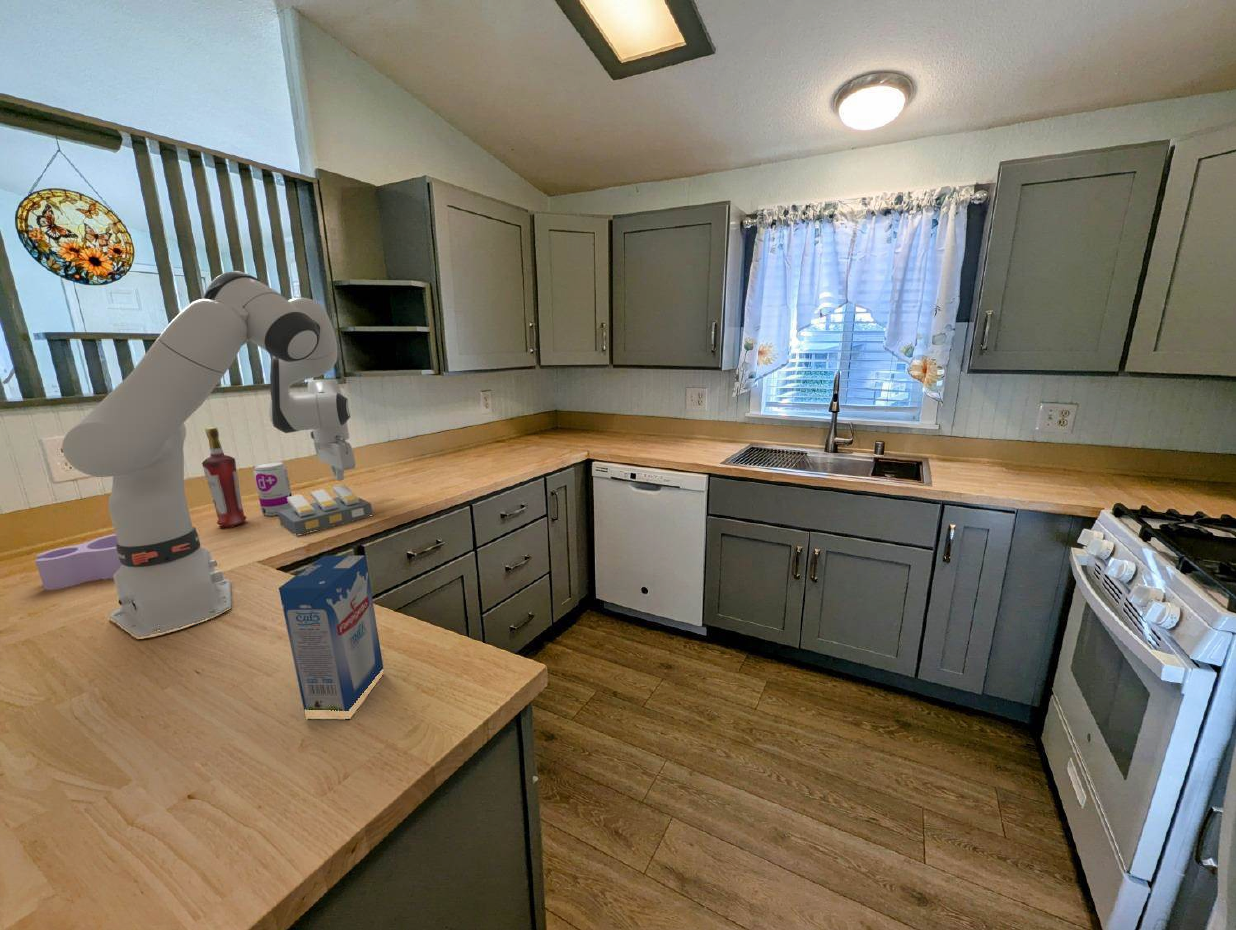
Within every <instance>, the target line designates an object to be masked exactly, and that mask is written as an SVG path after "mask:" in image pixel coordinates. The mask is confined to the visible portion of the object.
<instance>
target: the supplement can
mask: <svg viewBox="0 0 1236 930" xmlns="http://www.w3.org/2000/svg"><path fill="white" fill-rule="evenodd" d="M288 473H289V472H288V469H287V466H286V465H285V464H284V462H282V461H273V462H272V461H270V462H263V463H259V464H256V465H255V466H254V471H253V476H254V480H255V481H254V482H255V486H256V491H257V495H258V499H259V504H260V510H261V514H263V515H265V516H267V517H277V516H279V514H278V511H281V510H285V509H289V508H293V507H292V506H291V505H290V504H289V502H288V501H287V497H290V496H293V494H292V490H291V483H290V479H289V474H288ZM276 515H277V516H276Z"/></svg>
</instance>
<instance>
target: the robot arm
mask: <svg viewBox="0 0 1236 930" xmlns="http://www.w3.org/2000/svg"><path fill="white" fill-rule="evenodd" d="M249 342H251V343H253V344H254V345H256V346H258V347H259V348H261V349H262V350H264V351H266V352H267V353H268V354H269V355H271V356H272V357H271V360H270V371H269V374H270V375H269V381H270V382H269V383H270V386H269V387H270V399H271V401H270V404H269V407H268V408H269V409H268V412H269V413H268V415H269V419H270V422H271V424H272V426H273V427H274V428H276V429H277V430H278V431H281V432H283V433H285V434H289V433H295V432H296V433H297V432H300V431H309V430H311V431H310V432H309V433H310V435H309V436H310V437H311V440H313V445H314V449H315V452H316V456H317V458H318V460H319V462H320V463H323V464H326V465H329V468H330V470H331V472H332V474H333V479H334V480H336V481H338V482H340V481H344V480H345V476H344V473H345V471H347V470H354V469H355V468H356V460H355V455H354V451H353V448H352V445H351V443H350V442H347V440H350V433H349V428H348V426H349V425H348V422H347V421H349V419H350V418H351V413H350V409H349V401H348V398H347V397H345V395H343V394H342V391H341V387H340V385H339V382H338V380H336V379H335V378H330V377H329V378H327V377H326V378H325V377H324V378H322V377H321V376H323V375H325V374H327V373H328V372H329V371H331V370H332V369H333V368H334V366H335V365H336V363H337V360H338V344H337V343H338V342H337V337H336V334H335V331H334V327H333V324H332V322H331V318H330V317H329V314H328V312H327V311H326V309H325V308H324V307H323V305H321V303H319V302H317V301H316V300H314V299H310V298H308V297H294V298H293V297H292V298H291V299H286V297H285V296H284V295H282V294H281V293H279V292H278V291H276V290H275V289H273V288H272V287H271V286H268V285H267V284H265V283H263V282H261V280H259V279H258V278H256V277H255V276H253V275H251V274H248V273H245V272H243V271H239V270H230V271H227V272H224V273H221V274H220V275H218V276H216V277H215V278H214V279H213V280H212V281H211V283H210V284H208V287H207V289H206V291H205V292H204V296H203V298H202V299H201V298H200V299H197V300H194V301H192V302H190V304H189V305H187V306H186V307H185V308H184V309H182V311H180V312H179V313H178V314H177V315H176V316H175V317H174V318H173V319H172V320H171V321H170V322H169V323H168V324H167V326H165V328H164V329H163V330H162V332H161V333H160V334H159V335H158V337H157V338H156V339H155V341H154V342H153V344H152V345H151V346H150V348H149V349H148V350H147V352H146V353H145V354H144V355H143V357H142V358H141V360H140V361H139V362H138V363H137V365H136V366H135V367H134V369H133V370H132V371H131V372H130V374H128V375H127V377H125V379H123V381H121V382H120V383H119V384H118V385H117V386H116V387H114V389H113V390H112V391H110V393H109V394H107V395H106V396H105V397H104V398H103V399H102V400H101V401H100V402H99V403H98V404H97V405H96V406H94V408H93V409H92V411H90V412H89V414H88V415H86V417H84V418H83V420H81V421H80V422H79V423H78V424H76V425H75V426H74V427H73V428H71V429H70V430H69V431H68V432H67V433H66V434H65V436H64V438H63V441H62V444H61V447H62V452H63V456H64V457H65V458H64V459H65V460H66V462H68V463H69V464H70V466H72V467H73V468H74V469H75V470H77V471H79V472H80V473H83V474H84V475H88V476H92V477H96V478H97V477H98V478H109V477H112V487H111V493H110V496H109V499H108V501H107V509H108V512H109V515H110V519H111V522H112V526H113V530H114V532H115V533H114V534H116V537H117V540H118V543H117V544H116V548H117V551H116V552H117V555H118V557H119V560H120V563H121V564H122V565H121V567H120V569H119V570H118V571H117V572H116V573H115V574H114V575H113V578H112V579H113V581H114V584H115V589H116V593H117V598H118V604H119V605H120V608H118V609H116V610H114V611H112V612H111V613H109V616H108V617H110V618H112V619H113V620H114V621H115V622H116V623H119V624H120V625H121V626H122V627H123V628H125V629H126V630H128V631H129V632H130V633H132V634H133V635H135V636H137V637H141V636H149V635H151V634H156V633H163V632H166V631H169V630H173V629H175V628H181V627H183V626H186V625H189V624H192V623H197V622H200V621H202V620H205V619H206V618H210V617H212V616H215V615H216V614H220V613H222V612H224V611H225V610H227V609H229V608H230V607H231V604H232V582H231V579H229V578H224V575H223V571H222V569H218V570H215V567H218V563H217V559H212V553H211V551H210V550H209V549H206V548H204V547H202V546H201V543H200V535H199V533H198V532H197V529H196V527H194V526H193V522H192V519H191V515H190V510H189V507H188V501H187V497H186V496H187V495H186V491H185V460H184V459H185V458H184V457H185V456H184V444H185V439H186V436H187V428H186V425H185V422H186V420H188V419H189V418H190V417H191V416H192V415H193V414H194V413H195V412H196V411H197V410H198V409H199V408H200V407H201V406H203V404H204V402H205V401H206V400H207V398H208V397H209V396H210V394H211V393H212V392H213V390H214V389H215V387H216V386H218V383H219V382H220V381H221V380H222V378H223V377H224V376H225V374H226V373H227V372H228V370H229V368H230V367H231V366H232V364H233V362H234V361H235V359H236V357H237V356H238V354H239V352H240V350H241V348H242V346H244V345H246V344H247V343H249ZM318 377H321V378H318ZM309 379H311V380H309ZM306 380H309V381H307V393H301V394H299V393H297V394H291V393H290V387H291V386H292V385H294V384H296V383H299V382H303V381H306ZM122 614H123V615H122ZM118 615H120V616H118ZM110 618H109V619H110ZM157 630H160V631H157ZM155 631H156V632H155Z"/></svg>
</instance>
